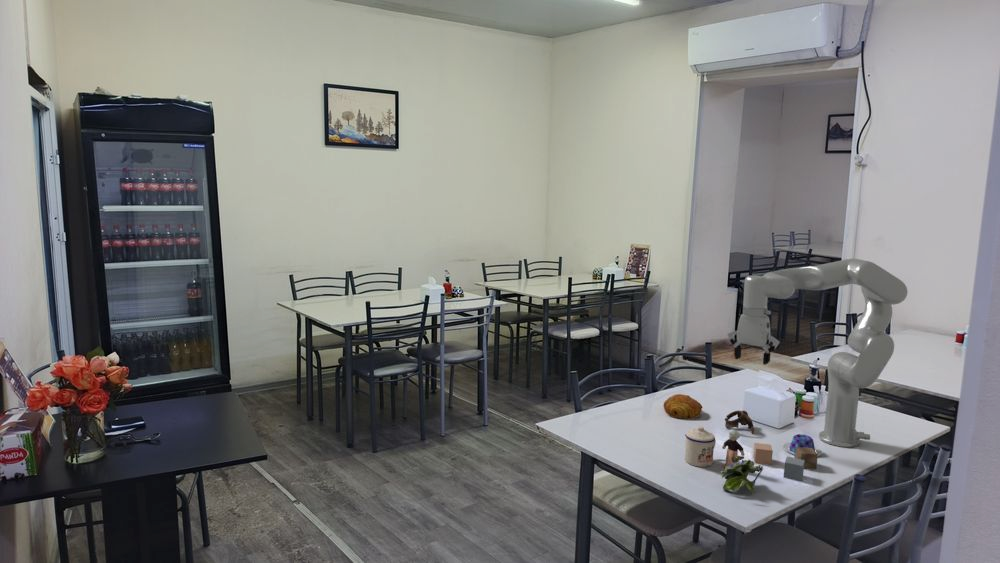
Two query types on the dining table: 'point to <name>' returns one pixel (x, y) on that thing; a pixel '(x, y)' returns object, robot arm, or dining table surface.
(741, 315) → the robot arm
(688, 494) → the dining table surface
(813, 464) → the walnut cube
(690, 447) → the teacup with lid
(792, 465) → the slate grey cube
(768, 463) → the terracotta cube
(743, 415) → the brown curved piece
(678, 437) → the dining table surface
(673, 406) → the croissant
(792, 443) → the purple patterned hat
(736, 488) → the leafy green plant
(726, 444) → the grandmother figurine
